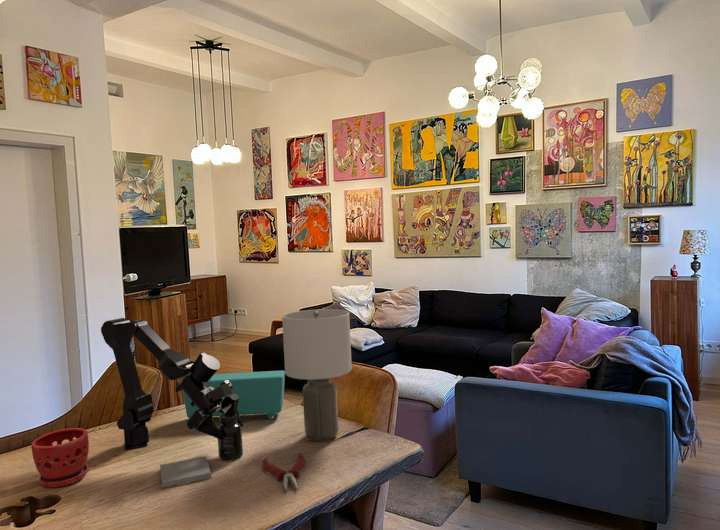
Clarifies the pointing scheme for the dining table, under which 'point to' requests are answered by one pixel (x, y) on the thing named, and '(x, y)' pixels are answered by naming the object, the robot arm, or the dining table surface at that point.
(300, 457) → the pliers
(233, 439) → the supplement bottle
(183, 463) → the grey flat square slab
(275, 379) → the teal foam block
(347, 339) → the lamp
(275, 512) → the dining table surface
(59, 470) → the plant pot
